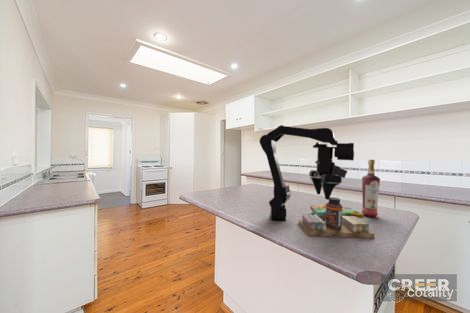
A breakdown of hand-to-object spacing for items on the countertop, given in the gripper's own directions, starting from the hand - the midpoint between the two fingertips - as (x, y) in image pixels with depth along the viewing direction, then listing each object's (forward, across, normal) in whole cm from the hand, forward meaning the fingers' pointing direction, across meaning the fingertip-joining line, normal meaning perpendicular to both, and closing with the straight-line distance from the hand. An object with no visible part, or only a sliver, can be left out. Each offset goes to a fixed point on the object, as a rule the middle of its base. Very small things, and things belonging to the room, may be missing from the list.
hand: (322, 196), depth 82 cm
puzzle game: (+13, +13, -12) cm, 22 cm away
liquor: (+12, +18, -30) cm, 37 cm away
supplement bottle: (+11, -4, -3) cm, 12 cm away
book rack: (+12, -3, -3) cm, 13 cm away
